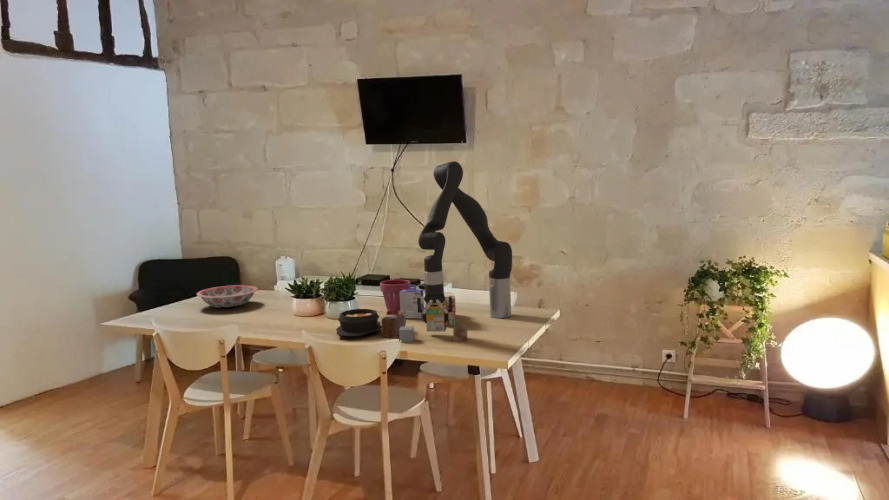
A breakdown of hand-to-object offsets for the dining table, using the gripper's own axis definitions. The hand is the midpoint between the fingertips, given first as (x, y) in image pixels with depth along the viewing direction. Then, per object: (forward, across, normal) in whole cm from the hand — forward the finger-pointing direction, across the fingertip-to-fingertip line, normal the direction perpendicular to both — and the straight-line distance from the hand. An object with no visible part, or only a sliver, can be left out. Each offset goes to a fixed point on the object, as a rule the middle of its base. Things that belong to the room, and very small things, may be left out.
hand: (435, 322), depth 274 cm
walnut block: (+5, -10, +7) cm, 13 cm away
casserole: (+5, +32, -6) cm, 33 cm away
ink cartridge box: (+6, +13, -31) cm, 34 cm away
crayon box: (+4, 0, 0) cm, 4 cm away
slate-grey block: (+5, +11, +7) cm, 14 cm away
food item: (+5, +18, -4) cm, 19 cm away
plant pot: (+6, +23, -49) cm, 55 cm away
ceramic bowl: (+5, +109, -61) cm, 125 cm away
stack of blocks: (+6, -2, -25) cm, 25 cm away
